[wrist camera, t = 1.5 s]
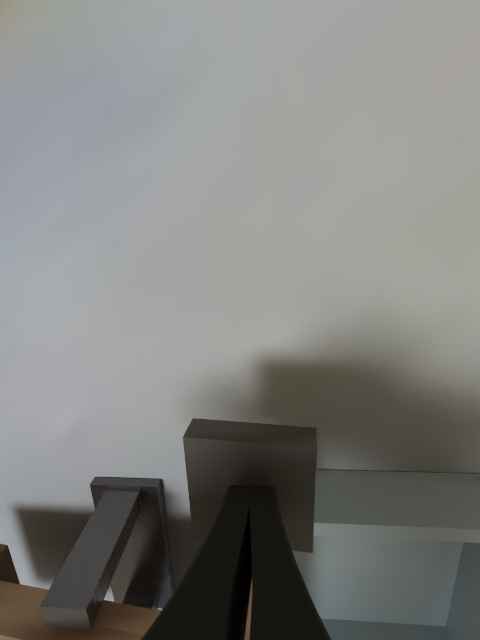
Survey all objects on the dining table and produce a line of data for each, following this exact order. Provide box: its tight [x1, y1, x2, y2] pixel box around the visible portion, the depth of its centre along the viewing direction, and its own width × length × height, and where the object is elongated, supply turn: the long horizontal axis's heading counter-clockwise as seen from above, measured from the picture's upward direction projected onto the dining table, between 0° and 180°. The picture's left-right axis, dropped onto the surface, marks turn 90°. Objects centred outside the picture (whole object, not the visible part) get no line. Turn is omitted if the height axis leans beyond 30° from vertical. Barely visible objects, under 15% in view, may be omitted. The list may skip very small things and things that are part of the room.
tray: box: [292, 469, 480, 640], centre depth 20 cm, size 12×12×4 cm
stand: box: [39, 477, 175, 630], centre depth 19 cm, size 4×10×7 cm, turn 2°
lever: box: [0, 418, 317, 640], centre depth 15 cm, size 19×17×5 cm
